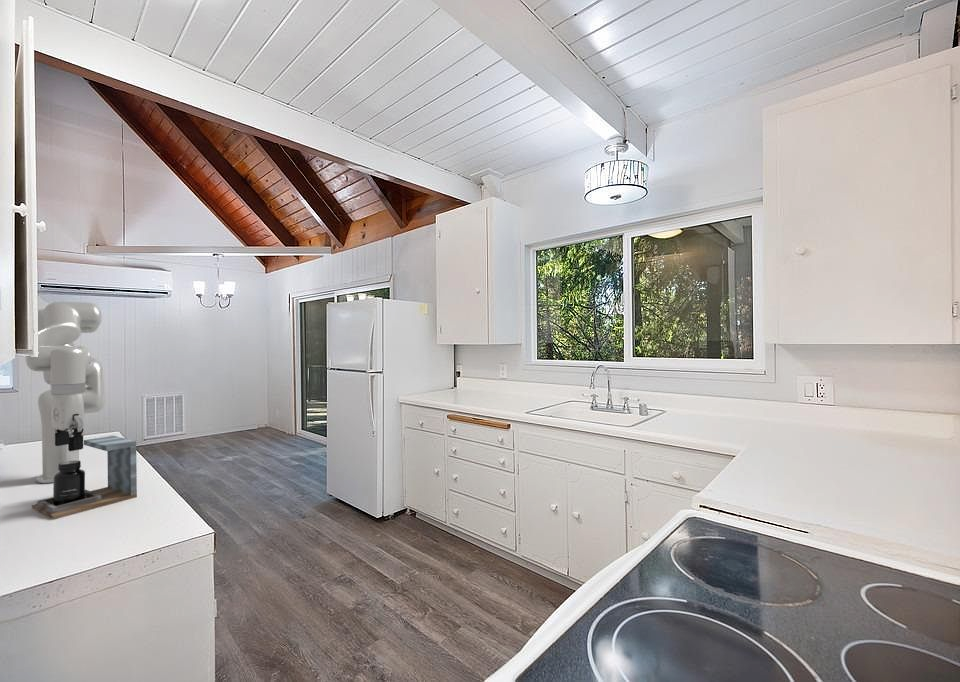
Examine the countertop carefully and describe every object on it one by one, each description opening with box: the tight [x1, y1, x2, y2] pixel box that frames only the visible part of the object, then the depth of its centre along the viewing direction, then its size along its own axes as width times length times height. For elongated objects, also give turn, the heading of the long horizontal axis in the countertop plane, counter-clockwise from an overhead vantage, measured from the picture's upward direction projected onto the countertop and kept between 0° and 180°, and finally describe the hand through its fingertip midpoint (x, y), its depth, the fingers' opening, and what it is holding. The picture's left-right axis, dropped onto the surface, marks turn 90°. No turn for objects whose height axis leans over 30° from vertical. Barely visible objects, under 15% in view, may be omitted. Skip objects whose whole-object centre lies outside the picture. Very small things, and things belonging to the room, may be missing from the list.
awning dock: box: [31, 435, 138, 520], centre depth 133 cm, size 16×20×18 cm
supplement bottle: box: [52, 460, 86, 506], centre depth 130 cm, size 7×7×12 cm
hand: (69, 447), depth 130 cm, fingers open, 9 cm apart
